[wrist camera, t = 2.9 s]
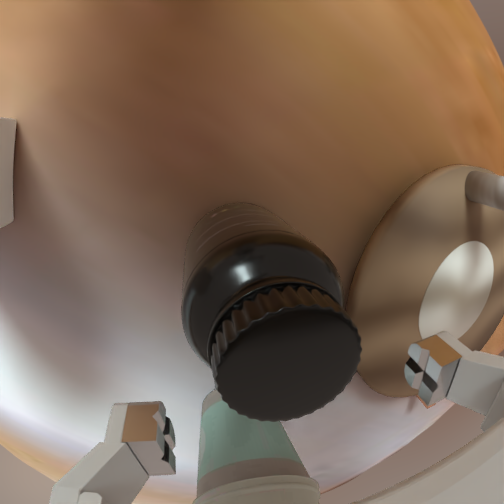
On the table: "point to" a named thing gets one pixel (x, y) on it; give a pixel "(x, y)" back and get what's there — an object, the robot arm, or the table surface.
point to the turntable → (430, 272)
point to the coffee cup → (248, 460)
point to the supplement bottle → (266, 314)
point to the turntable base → (424, 402)
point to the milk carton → (6, 169)
